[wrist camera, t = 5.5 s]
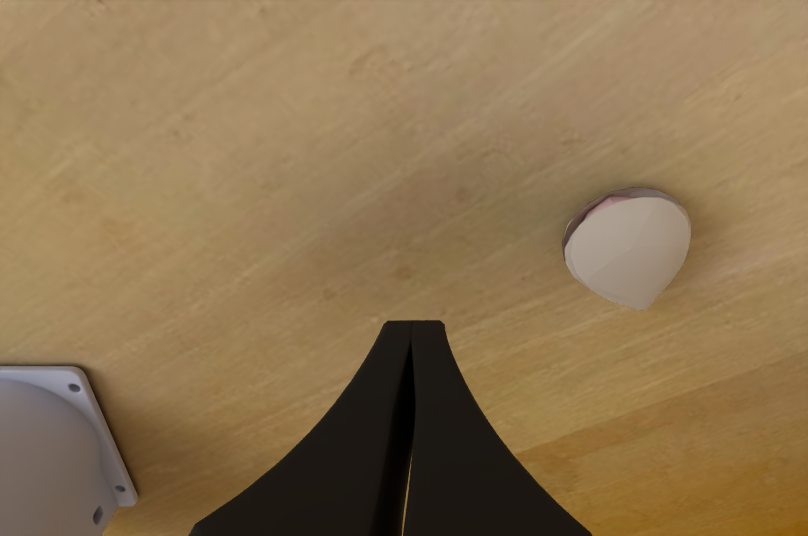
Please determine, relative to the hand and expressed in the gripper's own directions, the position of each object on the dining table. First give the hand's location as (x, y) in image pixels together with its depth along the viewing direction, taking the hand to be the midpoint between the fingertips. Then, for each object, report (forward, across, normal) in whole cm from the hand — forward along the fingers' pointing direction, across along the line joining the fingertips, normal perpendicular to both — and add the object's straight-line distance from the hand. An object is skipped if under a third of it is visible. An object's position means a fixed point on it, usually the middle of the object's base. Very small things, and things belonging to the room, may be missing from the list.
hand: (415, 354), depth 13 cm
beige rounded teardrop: (+9, -7, +2) cm, 12 cm away
